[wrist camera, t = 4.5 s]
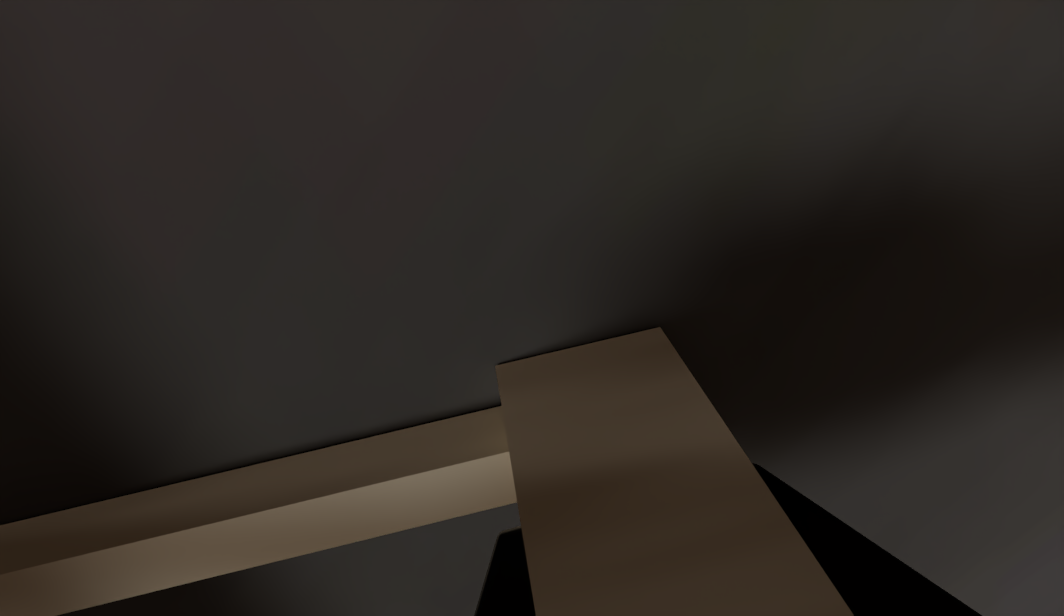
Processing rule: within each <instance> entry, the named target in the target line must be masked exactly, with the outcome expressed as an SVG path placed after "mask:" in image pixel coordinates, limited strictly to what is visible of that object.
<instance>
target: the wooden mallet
mask: <svg viewBox="0 0 1064 616" xmlns="http://www.w3.org/2000/svg"><path fill="white" fill-rule="evenodd" d="M495 368H496V374H497V381H498V387H499V393H500V399H501V405H502V406H499V407H495V408H490V409H486V410H482V411H478V412H474V413H470V414H465V415H461V416H457V417H453V418H449V419H444V420H440V421H436V422H432V423H428V424H423V425H419V426H415V427H411V428H407V429H402V430H398V431H394V432H390V433H386V434H382V435H377V436H373V437H369V438H365V439H361V440H356V441H352V442H348V443H344V444H340V445H335V446H331V447H327V448H323V449H319V450H314V451H310V452H306V453H302V454H298V455H293V456H289V457H285V458H281V459H277V460H273V461H268V462H264V463H260V464H256V465H252V466H247V467H243V468H239V469H235V470H231V471H226V472H222V473H218V474H214V475H210V476H205V477H201V478H197V479H193V480H189V481H185V482H180V483H176V484H172V485H168V486H164V487H159V488H155V489H151V490H147V491H143V492H138V493H134V494H130V495H126V496H122V497H117V498H113V499H109V500H105V501H101V502H97V503H92V504H88V505H84V506H80V507H76V508H71V509H67V510H63V511H59V512H55V513H50V514H46V515H42V516H38V517H34V518H29V519H25V520H21V521H17V522H13V523H8V524H4V525H0V616H57V615H61V614H65V613H69V612H73V611H77V610H81V609H85V608H89V607H93V606H97V605H101V604H105V603H110V602H114V601H118V600H122V599H126V598H130V597H134V596H138V595H142V594H146V593H150V592H154V591H158V590H162V589H166V588H171V587H175V586H179V585H183V584H187V583H191V582H195V581H199V580H203V579H207V578H211V577H215V576H219V575H223V574H227V573H231V572H236V571H240V570H244V569H248V568H252V567H256V566H260V565H264V564H268V563H272V562H276V561H280V560H284V559H288V558H292V557H296V556H301V555H305V554H309V553H313V552H317V551H321V550H325V549H329V548H333V547H337V546H341V545H345V544H349V543H353V542H357V541H362V540H366V539H370V538H374V537H378V536H382V535H386V534H390V533H394V532H398V531H402V530H406V529H410V528H414V527H418V526H422V525H427V524H431V523H435V522H439V521H443V520H447V519H451V518H455V517H459V516H463V515H467V514H471V513H475V512H479V511H483V510H487V509H492V508H496V507H500V506H504V505H508V504H512V503H516V502H517V503H518V509H519V515H520V522H521V528H522V534H523V540H524V546H525V552H526V558H527V565H528V571H529V577H530V583H531V589H532V595H533V601H534V607H535V614H536V616H854V615H853V613H852V612H851V610H850V609H849V607H848V606H847V604H846V603H845V601H844V600H843V598H842V597H841V595H840V594H839V593H838V591H837V590H836V588H835V587H834V585H833V584H832V582H831V581H830V579H829V578H828V576H827V575H826V573H825V572H824V570H823V569H822V567H821V566H820V564H819V563H818V561H817V560H816V558H815V557H814V555H813V554H812V552H811V551H810V549H809V548H808V546H807V545H806V543H805V542H804V540H803V539H802V537H801V536H800V534H799V533H798V531H797V530H796V528H795V527H794V526H793V524H792V523H791V521H790V520H789V518H788V517H787V515H786V514H785V512H784V511H783V509H782V508H781V506H780V505H779V503H778V502H777V500H776V499H775V497H774V496H773V494H772V493H771V491H770V490H769V488H768V487H767V485H766V484H765V482H764V481H763V479H762V478H761V476H760V475H759V473H758V472H757V470H756V469H755V467H754V466H753V464H752V463H751V462H750V460H749V459H748V457H747V456H746V454H745V453H744V451H743V450H742V448H741V447H740V445H739V444H738V442H737V441H736V439H735V438H734V436H733V435H732V433H731V432H730V430H729V429H728V427H727V426H726V424H725V423H724V421H723V420H722V418H721V417H720V415H719V414H718V412H717V411H716V409H715V408H714V406H713V405H712V403H711V402H710V400H709V399H708V398H707V396H706V395H705V393H704V392H703V390H702V389H701V387H700V386H699V384H698V383H697V381H696V380H695V378H694V377H693V375H692V374H691V372H690V371H689V369H688V368H687V366H686V365H685V363H684V362H683V360H682V359H681V357H680V356H679V354H678V353H677V351H676V350H675V348H674V347H673V345H672V344H671V342H670V341H669V339H668V338H667V336H666V335H665V334H664V332H663V331H662V329H661V328H660V327H658V328H654V329H649V330H645V331H641V332H637V333H632V334H628V335H624V336H620V337H615V338H611V339H607V340H603V341H598V342H594V343H590V344H586V345H581V346H577V347H573V348H569V349H564V350H560V351H556V352H552V353H547V354H543V355H539V356H535V357H530V358H526V359H522V360H518V361H513V362H509V363H505V364H501V365H496V366H495Z"/></svg>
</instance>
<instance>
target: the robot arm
mask: <svg viewBox="0 0 1064 616" xmlns="http://www.w3.org/2000/svg"><path fill="white" fill-rule="evenodd" d="M752 464H753V466H754V467H755V469H756V470H757V472H758V473H759V475H760V476H761V478H762V479H763V481H764V482H765V484H766V485H767V487H768V488H769V490H770V491H771V493H772V494H773V496H774V497H775V499H776V500H777V502H778V503H779V505H780V506H781V508H782V509H783V511H784V512H785V514H786V515H787V517H788V518H789V520H790V521H791V523H792V524H793V526H794V527H795V528H796V530H797V531H798V533H799V534H800V536H801V537H802V539H803V540H804V542H805V543H806V545H807V546H808V548H809V549H810V551H811V552H812V554H813V555H814V557H815V558H816V560H817V561H818V563H819V564H820V566H821V567H822V569H823V570H824V572H825V573H826V575H827V576H828V578H829V579H830V581H831V582H832V584H833V585H834V587H835V588H836V590H837V591H838V593H839V594H840V595H841V597H842V598H843V600H844V601H845V603H846V604H847V606H848V607H849V609H850V610H851V612H852V613H853V615H854V616H982V615H980V614H979V613H977V612H976V611H974V610H973V609H971V608H970V607H969V606H967V605H966V604H964V603H963V602H961V601H960V600H958V599H957V598H955V597H954V596H952V595H951V594H949V593H948V592H946V591H945V590H943V589H942V588H940V587H939V586H937V585H936V584H934V583H933V582H931V581H930V580H928V579H927V578H925V577H924V576H923V575H921V574H920V573H918V572H917V571H915V570H914V569H912V568H911V567H909V566H908V565H906V564H905V563H903V562H902V561H900V560H899V559H897V558H896V557H894V556H893V555H891V554H890V553H888V552H887V551H885V550H884V549H882V548H881V547H879V546H878V545H877V544H875V543H874V542H872V541H871V540H869V539H868V538H866V537H865V536H863V535H862V534H860V533H859V532H857V531H856V530H854V529H853V528H851V527H850V526H848V525H847V524H845V523H844V522H842V521H841V520H839V519H838V518H836V517H835V516H833V515H832V514H831V513H829V512H828V511H826V510H825V509H823V508H822V507H820V506H819V505H817V504H816V503H814V502H813V501H811V500H810V499H808V498H807V497H805V496H804V495H802V494H801V493H799V492H798V491H796V490H795V489H793V488H792V487H790V486H789V485H787V484H786V483H785V482H783V481H782V480H780V479H779V478H777V477H776V476H774V475H773V474H771V473H770V472H768V471H767V470H765V469H764V468H762V467H761V466H759V465H757V464H754V463H752ZM474 616H536V614H535V607H534V601H533V595H532V589H531V583H530V577H529V571H528V565H527V558H526V552H525V546H524V540H523V534H522V528H521V526H519V527H515V528H511V529H508V530H504V531H502V532H500V533H499V535H498V537H497V539H496V543H495V546H494V550H493V553H492V556H491V560H490V563H489V567H488V570H487V574H486V577H485V581H484V584H483V587H482V591H481V594H480V598H479V601H478V605H477V608H476V611H475V615H474Z"/></svg>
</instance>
